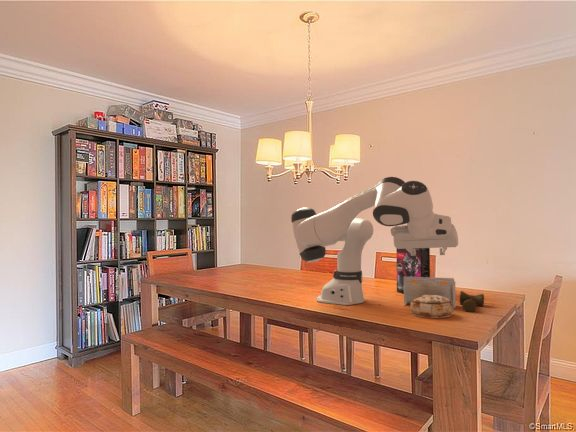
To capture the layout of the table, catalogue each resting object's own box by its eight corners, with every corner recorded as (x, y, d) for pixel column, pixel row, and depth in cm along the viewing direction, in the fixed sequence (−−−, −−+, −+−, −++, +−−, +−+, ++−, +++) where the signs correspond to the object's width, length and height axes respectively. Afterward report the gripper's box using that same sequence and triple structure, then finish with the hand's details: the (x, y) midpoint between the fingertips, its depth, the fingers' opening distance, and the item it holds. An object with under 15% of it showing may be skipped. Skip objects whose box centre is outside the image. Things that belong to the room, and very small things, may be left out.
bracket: (404, 305, 164) (403, 278, 164) (404, 302, 169) (403, 276, 169) (455, 308, 158) (455, 280, 158) (453, 305, 163) (453, 278, 163)
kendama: (456, 312, 154) (461, 300, 172) (482, 315, 150) (484, 303, 167) (456, 298, 154) (461, 288, 171) (482, 301, 149) (484, 290, 167)
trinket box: (458, 317, 145) (458, 297, 145) (428, 321, 140) (428, 300, 140) (433, 309, 158) (433, 290, 158) (405, 313, 152) (404, 293, 152)
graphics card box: (395, 292, 192) (394, 239, 192) (405, 290, 195) (404, 239, 195) (421, 298, 177) (420, 241, 177) (431, 296, 180) (430, 240, 180)
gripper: (388, 233, 123) (396, 261, 131) (455, 230, 113) (459, 260, 121) (390, 220, 127) (398, 248, 135) (455, 216, 117) (459, 246, 125)
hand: (427, 254), depth 128 cm, fingers open, 8 cm apart
